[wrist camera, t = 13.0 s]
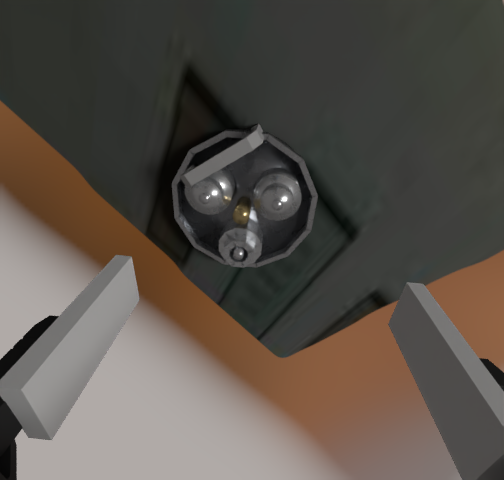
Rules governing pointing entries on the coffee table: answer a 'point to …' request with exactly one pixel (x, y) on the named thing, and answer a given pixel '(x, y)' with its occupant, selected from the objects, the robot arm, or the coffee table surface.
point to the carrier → (247, 197)
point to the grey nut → (241, 242)
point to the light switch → (223, 157)
